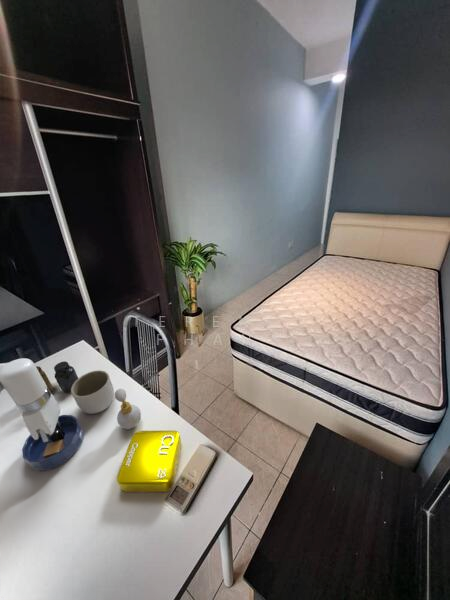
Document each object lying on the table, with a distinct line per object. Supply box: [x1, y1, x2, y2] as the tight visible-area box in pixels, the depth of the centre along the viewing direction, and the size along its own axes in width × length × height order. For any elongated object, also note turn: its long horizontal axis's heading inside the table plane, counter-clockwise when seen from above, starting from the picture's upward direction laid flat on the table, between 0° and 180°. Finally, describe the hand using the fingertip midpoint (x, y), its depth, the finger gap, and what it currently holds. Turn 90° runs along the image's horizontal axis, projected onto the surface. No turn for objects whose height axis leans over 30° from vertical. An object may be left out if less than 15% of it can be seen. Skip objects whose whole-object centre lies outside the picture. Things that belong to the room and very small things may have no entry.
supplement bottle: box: [53, 361, 79, 394], centre depth 98 cm, size 7×7×12 cm
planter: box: [70, 370, 115, 415], centre depth 90 cm, size 12×12×11 cm
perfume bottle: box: [114, 388, 142, 430], centre depth 83 cm, size 8×10×12 cm
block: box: [43, 440, 65, 459], centre depth 75 cm, size 4×4×4 cm
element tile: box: [116, 430, 182, 493], centre depth 72 cm, size 15×15×5 cm
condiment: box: [35, 365, 61, 396], centre depth 97 cm, size 7×8×12 cm
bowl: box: [21, 414, 85, 472], centre depth 78 cm, size 15×15×5 cm
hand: (59, 438), depth 78 cm, fingers closed
